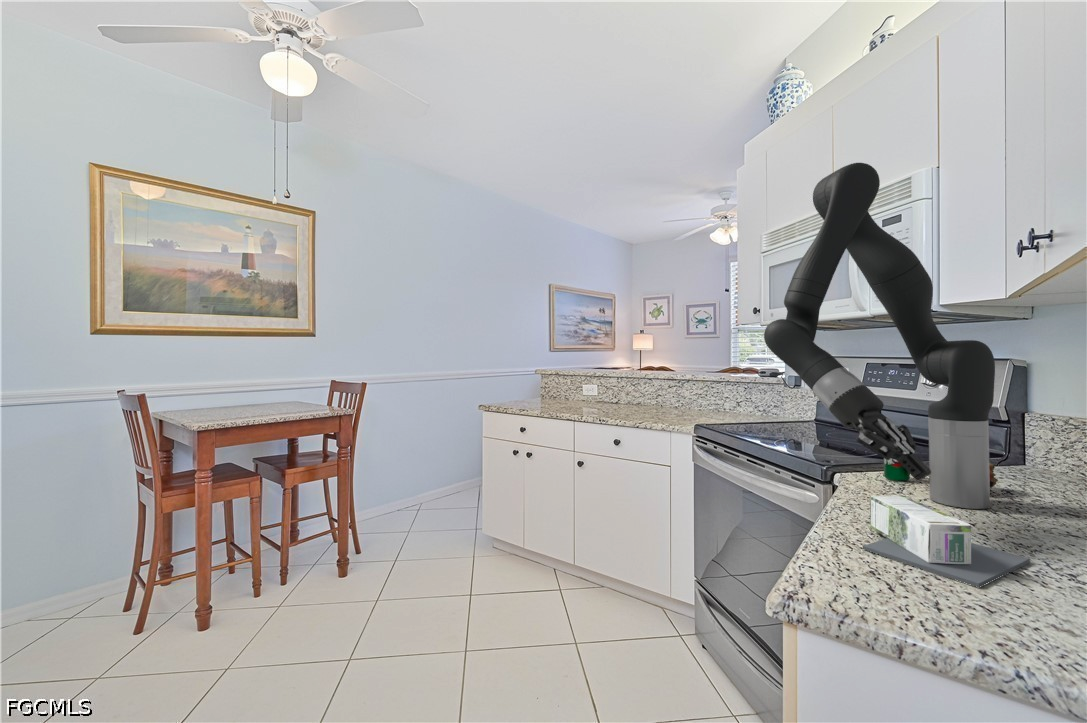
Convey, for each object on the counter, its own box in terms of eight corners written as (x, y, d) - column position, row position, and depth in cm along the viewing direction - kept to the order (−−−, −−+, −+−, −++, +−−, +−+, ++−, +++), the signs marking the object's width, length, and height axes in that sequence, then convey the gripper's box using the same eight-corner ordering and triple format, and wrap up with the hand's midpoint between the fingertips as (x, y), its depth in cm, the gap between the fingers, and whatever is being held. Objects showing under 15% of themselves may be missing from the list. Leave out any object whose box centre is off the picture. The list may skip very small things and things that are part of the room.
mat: (916, 531, 79) (916, 528, 79) (1030, 562, 67) (1030, 558, 67) (862, 549, 72) (862, 545, 72) (978, 588, 60) (978, 583, 60)
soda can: (915, 482, 111) (914, 432, 111) (894, 482, 111) (893, 432, 111) (899, 477, 116) (898, 429, 116) (879, 477, 116) (878, 429, 116)
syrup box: (904, 529, 79) (975, 566, 65) (867, 528, 80) (930, 564, 65) (904, 495, 79) (975, 525, 65) (867, 495, 80) (930, 524, 65)
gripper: (839, 384, 81) (922, 468, 70) (881, 382, 87) (964, 459, 76) (810, 412, 86) (884, 494, 75) (852, 408, 92) (926, 484, 81)
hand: (924, 476), depth 76 cm, fingers closed
